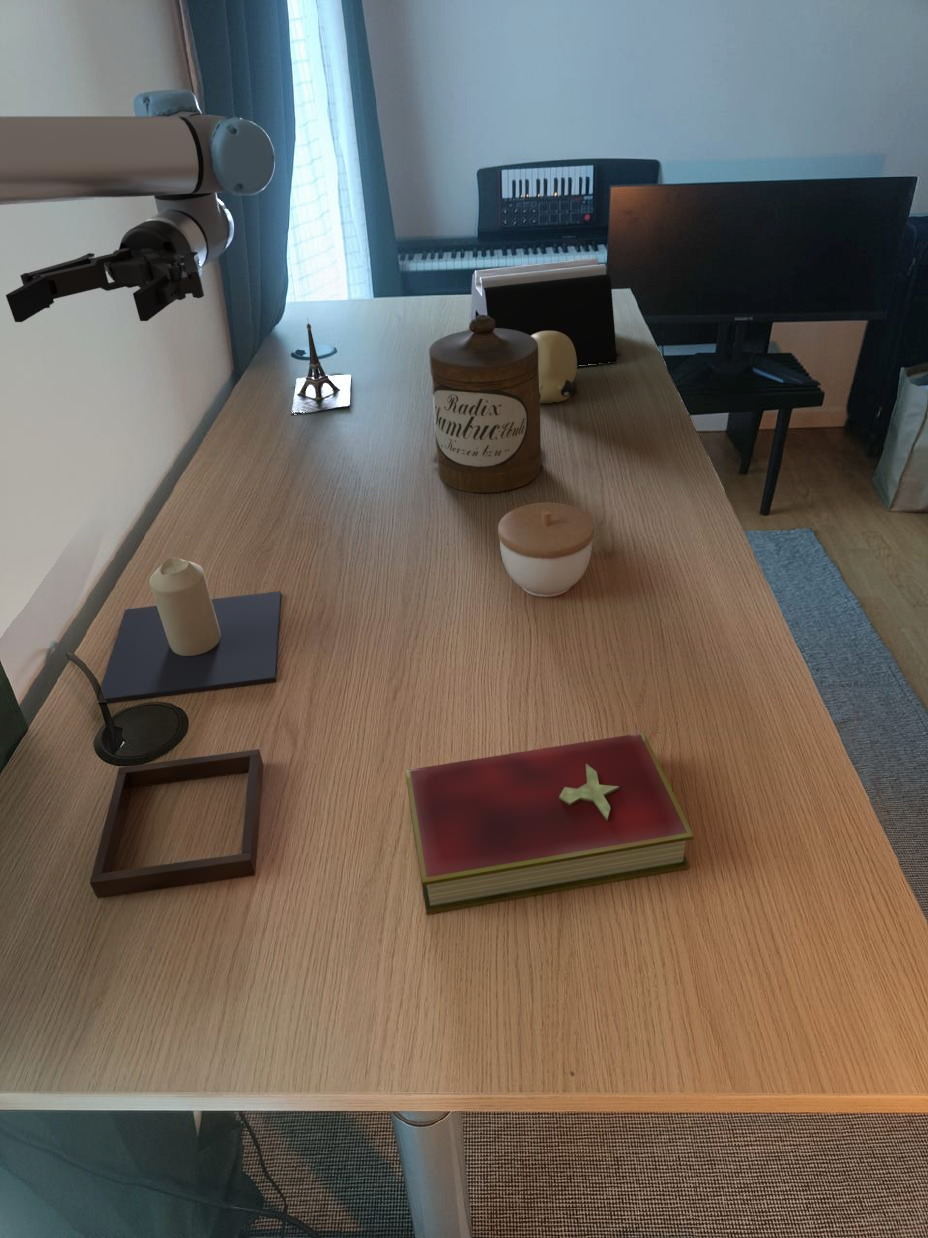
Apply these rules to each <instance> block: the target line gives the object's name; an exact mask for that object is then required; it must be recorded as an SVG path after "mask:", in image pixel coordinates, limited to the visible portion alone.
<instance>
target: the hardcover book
mask: <svg viewBox="0 0 928 1238" xmlns="http://www.w3.org/2000/svg"><path fill="white" fill-rule="evenodd" d="M404 772H405V779H406V786H407V793H408V794H407V795H408V801H409V808H410V809H409V810H410V815H411V821H412V828H413V834H414V842H415V849H416V855H417V861H418V868H419V874H420V875H419V876H420V881H421V888H422V894H423V895H422V896H423V902H424V909H425V914H426V915H432V914H436V913H443V912H448V911H455V910H459V909H466V908H471V907H478V906H483V905H488V904H493V903H499V902H506V901H511V900H518V899H523V898H528V897H534V896H540V895H545V894H551V893H557V892H563V891H568V890H575V889H581V888H585V887H592V886H597V885H602V884H608V883H613V882H614V883H615V882H619V881H620V882H621V881H626V880H632V879H637V878H642V877H643V878H644V877H648V876H654V875H660V874H666V873H670V872H677V871H682V870H688V869H690V864H689V861H688V859H687V856H686V855H685V850H686V843H687V841H693V840H695V839H694V838H695V835H694V833H693V831H692V829H691V827H690V825H689V823H688V820H687V819H686V816H685V814H684V812H683V810H682V808H681V806H680V803H679V802H678V800H677V798H676V795H675V794H674V792H673V789H672V788H671V785H670V783H669V781H668V779H667V777H666V775H665V772H664V771H663V769H662V766H661V764H660V762H659V760H658V758H657V756H656V754H655V752H654V749H653V747H652V745H651V743H650V741H649V739H648V737H647V735H646V733H645V732H638V733H631V734H625V735H619V736H613V737H607V738H601V739H594V740H588V741H582V742H576V743H569V744H561V745H557V746H550V747H543V748H538V749H537V748H536V749H529V750H524V751H519V752H513V753H506V754H499V755H493V756H492V755H491V756H486V757H481V758H480V757H479V758H474V759H467V760H462V761H455V762H448V763H442V764H437V765H436V764H435V765H430V766H424V767H418V768H417V767H416V768H411V769H405V770H404Z"/></svg>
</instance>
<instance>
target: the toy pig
mask: <svg viewBox="0 0 928 1238" xmlns="http://www.w3.org/2000/svg"><path fill="white" fill-rule="evenodd" d="M531 336H532V337H533V338H534V339H535V340H536V341H537V344H538V371H539V398H540V404H554V403H553V402H556V403H561V402H564V401H566V400H567V399H569V398H570V397H571V396H572V394H573V392H574V384H573V383H574V381H575V378H576V377H577V376H576V375H577V370H578V367H577V357H576V352H575V348H574V346H573V343H572V341H571V340H570V339H569V338H568V337H567V336H566V335H565V334H563V333H560V332H557V331H541V332H537V333H535V334H533V335H531ZM560 401H561V402H560Z"/></svg>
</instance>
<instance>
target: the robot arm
mask: <svg viewBox="0 0 928 1238" xmlns="http://www.w3.org/2000/svg"><path fill="white" fill-rule="evenodd" d="M132 104H133V105H132V107H133V110H134V111H133V112H134V116H132V115H131V116H129V115H125V116H120V115H119V116H116V115H115V116H111V115H110V116H102V115H101V116H96V115H95V116H94V115H93V116H89V115H88V116H87V115H86V116H83V115H82V116H78V115H77V116H74V115H73V116H69V115H68V116H61V115H59V116H58V115H57V116H55V115H54V116H49V115H48V116H46V115H45V116H40V115H39V116H38V115H36V116H30V115H29V116H28V115H27V116H24V115H23V116H22V115H21V116H20V115H19V116H18V115H16V116H13V115H12V116H8V115H7V116H6V115H5V116H3V115H2V116H0V206H4V205H5V206H7V205H8V206H9V205H22V204H23V205H24V204H39V203H56V202H73V201H88V200H104V199H106V200H107V199H121V198H122V199H123V198H138V197H152V196H153V197H154V200H155V201H154V202H155V205H156V209H157V214H155V215H152V216H151V217H149V218H147V219H145V220H144V221H143V222H141V223H139V224H138V225H135V226H134V227H131V228H130V229H129V230H128V231H126V232H125V233H124V235H123V237H122V238H121V241H120V243H119V247H118V249H116V250H114V251H113V252H112V253H109V254H104V255H100V256H96V253H92V252H88V253H87V254H84V255H82V256H80V257H78V258H75V259H72V260H68V261H64V262H60V263H57V264H54V265H50V266H47V267H43V268H40V269H37V270H33V271H30V272H24V273H22V274H20V276H19V277H20V279H21V282H22V286H20V287H17V288H15V289H14V290H12V291H11V292H9V293H7V294H5V298H6V301H7V304H8V306H9V309H10V312H11V314H12V317H13V320H14V323H23V322H25V321H27V320H28V319H30V318H31V317H33V316H35V315H37V314H38V313H40V312H41V311H43V310H45V309H50V308H51V305H53V304H55V301H54V300H55V299H56V300H57V299H60V298H64V297H68V296H73V295H77V294H80V293H86V292H89V291H93V290H98V289H101V290H104V291H106V292H110V291H113V290H118V289H121V288H128V289H131V288H136V287H138V289H137V290H135V291H134V292H132V296H133V299H134V304H135V308H136V311H137V315H138V319H139V321H140V322H148V321H150V320H151V319H153V317H155V316H156V315H158V314H159V313H160V312H161V311H163V310H164V309H165V308H167V307H168V306H169V305H171V304H172V303H174V302H175V301H177V300H178V301H182V300H184V299H186V298H187V295H191V296H192V298H196V299H201V298H203V297H205V291H204V289H203V288H204V286H203V283H202V277H203V275H204V274H203V269H202V268H203V267H205V266H206V265H208V264H209V263H211V262H213V261H215V260H217V259H219V257H220V256H222V254H223V253H224V252H225V251H226V250H227V248H228V247H229V246H230V245H231V242H232V240H233V237H234V233H235V224H234V219H233V216H232V214H231V212H230V211H229V208H227V206H226V205H225V203H224V202H223V201H221V199H219V198H218V195H217V194H218V193H227V194H230V195H231V196H235V197H240V196H253V195H257V194H259V193H260V192H262V191H263V190H265V188H267V186H268V185H269V183H270V182H271V180H272V178H273V176H274V172H275V168H276V167H275V166H276V157H275V149H274V146H273V143H272V140H271V139H270V137H269V136H268V134H267V132H266V131H265V130H264V129H263V128H262V127H261V126H260V125H258V124H257V123H256V122H254V121H251V120H248V119H244V118H242V117H241V116H235V115H233V116H223V115H213V114H206V113H202V110H201V109H200V105H199V103H198V99H197V96H196V94H194V92H193V91H191V90H189V89H183V88H182V89H180V88H179V89H162V90H152V91H146V92H142V93H139V94H137V95H136V96H135V97H134V98H133V103H132ZM107 275H108V276H109V277H110V279H112V281H111V282H109V279H108V276H107Z"/></svg>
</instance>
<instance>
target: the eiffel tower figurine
mask: <svg viewBox="0 0 928 1238" xmlns="http://www.w3.org/2000/svg"><path fill="white" fill-rule="evenodd" d="M306 319H307V321H309V318H307V317H306ZM306 330H307V337H308V338H307V339H308V348H309V362H308V365H309V366H308V373H307V376H306V375H305V377H297V378H296V383H295V389H294V395H293V400H292V406H291V412H292V411H293V412H294V413H295V412H300V413H302V412H303V413H302V414H308V413H315V412H321V411H325V410H329V409H335V408H342V407H349V406H351V405H350V404H351V402H350V401H351V380H352V374H343V375H342V374H340V375H329V374H327V373H326V372H325V371H324V369H323V367H322V365H321V361H320V360H319V357H318V353H317V349H316V346H315V341H314V337H313V334H312V325H311V324H310V322H307V324H306ZM293 412H292V413H293ZM305 412H306V413H305Z"/></svg>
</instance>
